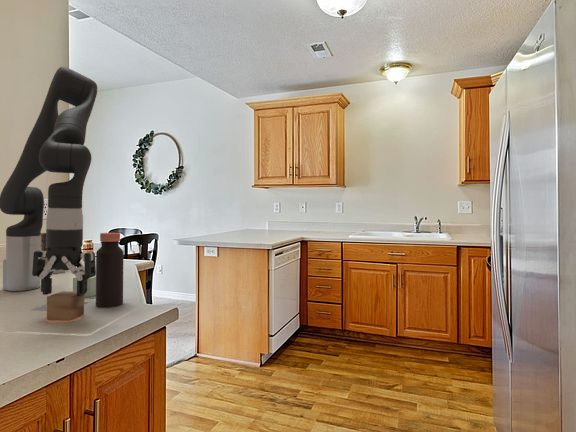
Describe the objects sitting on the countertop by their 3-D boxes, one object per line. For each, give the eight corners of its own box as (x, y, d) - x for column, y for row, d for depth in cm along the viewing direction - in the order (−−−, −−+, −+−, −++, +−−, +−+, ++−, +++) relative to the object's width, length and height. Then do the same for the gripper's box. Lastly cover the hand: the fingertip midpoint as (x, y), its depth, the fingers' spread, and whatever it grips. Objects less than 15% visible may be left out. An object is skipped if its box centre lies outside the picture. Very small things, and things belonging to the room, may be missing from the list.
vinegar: (90, 306, 101) (91, 233, 101) (114, 301, 106) (115, 232, 106) (103, 310, 97) (104, 234, 97) (128, 305, 103) (128, 233, 102)
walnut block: (62, 313, 92) (62, 291, 92) (83, 314, 92) (84, 292, 91) (46, 320, 86) (46, 296, 86) (69, 320, 86) (69, 297, 86)
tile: (29, 311, 95) (29, 310, 95) (56, 302, 105) (56, 300, 105) (67, 313, 94) (67, 311, 94) (90, 303, 104) (90, 301, 104)
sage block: (72, 296, 110) (72, 277, 110) (84, 292, 115) (84, 274, 115) (90, 297, 110) (90, 278, 109) (101, 292, 115) (101, 275, 115)
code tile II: (60, 299, 108) (60, 297, 108) (81, 291, 118) (81, 290, 118) (93, 300, 107) (93, 299, 107) (112, 292, 117) (112, 291, 117)
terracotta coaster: (37, 323, 85) (37, 321, 85) (60, 314, 93) (60, 311, 93) (70, 325, 85) (70, 322, 85) (91, 315, 93) (91, 312, 93)
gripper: (102, 227, 92) (101, 292, 92) (47, 225, 93) (46, 290, 93) (83, 229, 84) (82, 300, 84) (24, 227, 85) (23, 297, 85)
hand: (63, 294), depth 89 cm, fingers open, 8 cm apart
